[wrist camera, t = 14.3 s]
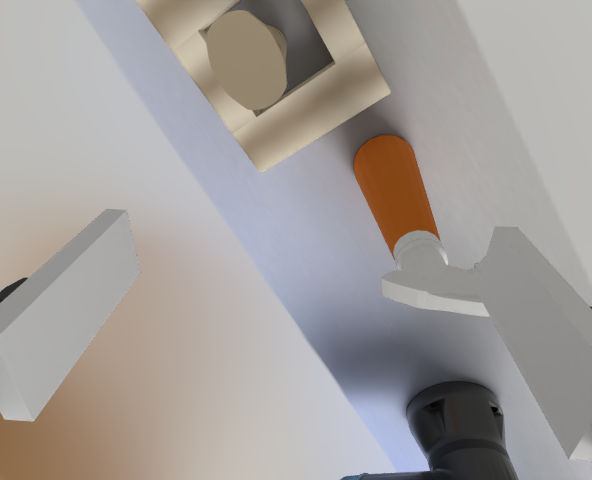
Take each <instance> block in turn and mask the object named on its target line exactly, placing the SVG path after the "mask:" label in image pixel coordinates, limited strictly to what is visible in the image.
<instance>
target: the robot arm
mask: <svg viewBox="0 0 592 480" xmlns="http://www.w3.org/2000/svg"><path fill="white" fill-rule="evenodd" d="M139 274H140V268H139V263H138V259H137V254H136V250H135V245H134V240H133V236H132V231H131V226H130V222H129V217H128V212H127V210H114V209H106V210H105V211H104V212H103V213H102V214H101V215H99V216H98V217H97V218H96V219H95V220H94V221H92V222H91V223H90V224H89V225H88V226H87V227H86V228H85V229H84V230H82V231H81V232H80V233H79V234H78V235H77V236H76V237H74V239H72V240H71V241H70V242H69V243H68V244H67V245H65V246H64V247H63V248H62V249H61V250H60V251H59V252H57V254H56V255H54V256H53V257H52V258H51V259H50V260H48V261H47V262H46V263H45V264H44V265H43V266H42V267H41V268H40V269H38V270H37V271H36V272H35V273H34V274H33V275H32V276H30V277H29V278H23V279H21V280H19V281H17V282H15V283H13V284H11V285H9V286H7V287H6V288H4V289H3V290H2V291H1V292H0V412H1V414H2V416H3V418H4V419H7V420H22V421H34V420H35V419H36V417H37V416H38V415H39V413H40V412H41V410H42V409H43V407H44V406H45V405H46V403H47V402H48V401H49V399H50V398H51V396H52V395H53V394H54V392H55V391H56V390H57V388H58V387H59V385H60V384H61V383H62V381H63V380H64V378H65V377H66V376H67V374H68V373H69V371H70V370H71V369H72V367H73V366H74V364H75V363H76V361H77V360H78V359H79V358H80V356H81V355H82V353H83V352H84V351H85V349H86V348H87V346H88V345H89V344H90V342H91V341H92V339H93V338H94V336H95V335H96V334H97V332H98V331H99V330H100V328H101V327H102V326H103V324H104V323H105V321H106V320H107V318H108V317H109V316H110V314H111V313H112V312H113V310H114V309H115V307H116V306H117V305H118V303H119V302H120V300H121V299H122V298H123V296H124V295H125V293H126V292H127V291H128V289H129V288H130V287H131V285H132V284H133V282H134V281H135V280H136V278H137V277H138V275H139ZM476 292H477V294H478V295H479V297H480V299H481V301H482V303H483V304H484V306H485V308H486V310H487V312H488V314H489V315H490V317H491V319H492V321H493V323H494V324H495V326H496V328H497V330H498V332H499V334H500V335H501V337H502V339H503V341H504V343H505V344H506V346H507V348H508V350H509V352H510V354H511V355H512V357H513V359H514V361H515V363H516V364H517V366H518V368H519V370H520V372H521V374H522V375H523V377H524V379H525V381H526V383H527V384H528V386H529V388H530V390H531V392H532V394H533V395H534V397H535V399H536V401H537V403H538V405H539V406H540V408H541V410H542V412H543V414H544V415H545V417H546V419H547V421H548V423H549V425H550V426H551V428H552V430H553V432H554V434H555V435H556V437H557V439H558V441H559V443H560V445H561V446H562V448H563V450H564V452H565V454H566V455H567V457H568V459H570V460H584V461H592V307H589V306H588V304H587V303H586V302H585V301H584V300H583V299H582V298H581V297H580V296H579V295H578V293H577V292H576V291H575V290H574V289H573V288H572V287H571V286H570V285H569V284H568V282H567V281H566V280H565V279H564V278H563V277H562V276H561V275H560V274H559V273H558V271H557V270H556V269H555V268H554V267H553V266H552V265H551V264H550V263H549V262H548V261H547V259H546V258H545V257H544V256H543V255H542V254H541V253H540V252H539V251H538V250H537V248H536V247H535V246H534V245H533V244H532V243H531V242H530V241H529V240H528V239H527V237H526V236H525V235H524V234H523V233H522V232H521V231H520V230H519V229H518V228H517V227H495V228H494V231H493V235H492V238H491V241H490V245H489V248H488V251H487V254H486V258H485V261H484V264H483V268H482V271H481V274H480V277H479V281H478V284H477V287H476ZM407 419H408V424H409V428H410V431H411V433H412V435H413V437H414V438H415V440H416V442H417V444H418V445H419V447H420V449H421V451H422V452H423V454H424V456H425V457H426V459H427V461H428V464H429V468H430V471H424V472H403V473H383V474H368V473H363V474H360V475H355V476H346V477H343V478H342V479H341V480H518V477H517V475H516V472H515V470H514V468H513V465H512V463H511V461H510V458H509V456H508V453H507V451H506V444H505V428H504V415H503V412H502V409H501V407H500V404H499V402H498V400H497V398H496V396H495V395H494V394H493V393H492V392H491V391H489V390H488V389H486V388H484V387H482V386H480V385H476V384H472V383H466V382H450V383H443V384H439V385H436V386H433V387H430V388H428V389H426V390H424V391H422V392H421V393H419V394H418V395H417V396H416V397H415V398H414V399H413V400H412V401H411V402H410V404H409V406H408V409H407Z"/></svg>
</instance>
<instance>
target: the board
mask: <svg viewBox="0 0 592 480" xmlns="http://www.w3.org/2000/svg"><path fill="white" fill-rule="evenodd" d="M240 1H241V0H136V2H137V3H138V5H139V6H140V7H141V9H142V10H143V11H144V13H145V14H146V16H147V17H148V18H149V20H150V21H151V23H152V24H153V25H154V27H155V28H156V29H157V31H158V32H159V34H160V35H161V36H162V38H163V39H164V41H165V42H166V43H167V45H168V46H169V47H170V49H171V50H172V52H173V53H174V54H175V56H176V57H177V59H178V60H179V61H180V63H181V64H182V65H183V67H184V68H185V70H186V71H187V72H188V74H189V75H190V77H191V78H192V79H193V81H194V82H195V83H196V85H197V86H198V88H199V89H200V90H201V92H202V93H203V95H204V96H205V97H206V99H207V100H208V101H209V103H210V104H211V106H212V107H213V108H214V110H215V111H216V113H217V114H218V115H219V117H220V118H221V119H222V121H223V122H224V124H225V125H226V126H227V128H228V129H229V131H230V132H231V133H232V135H233V136H234V137H235V139H236V140H237V142H238V143H239V144H240V146H241V147H242V149H243V150H244V151H245V153H246V154H247V155H248V157H249V158H250V160H251V161H252V162H253V164H254V165H255V167H256V168H257V169H258V171H259V172H260V173H263V172H264V171H266V170H267V169H269V168H271V167H272V166H274V165H275V164H277V163H279V162H280V161H282V160H284V159H285V158H287V157H288V156H290V155H292V154H293V153H295V152H297V151H298V150H300V149H301V148H303V147H305V146H306V145H308V144H309V143H311V142H313V141H314V140H316V139H318V138H319V137H321V136H322V135H324V134H326V133H327V132H329V131H330V130H332V129H334V128H335V127H337V126H339V125H340V124H342V123H343V122H345V121H347V120H348V119H350V118H352V117H353V116H355V115H356V114H358V113H360V112H361V111H363V110H364V109H366V108H368V107H369V106H371V105H373V104H374V103H376V102H377V101H379V100H381V99H382V98H384V97H386V96H387V95H389V94H390V93H391V91H390V89H389V87H388V85H387V83H386V82H385V80H384V78H383V76H382V74H381V72H380V70H379V68H378V66H377V64H376V62H375V60H374V58H373V56H372V54H371V52H370V50H369V48H368V46H367V44H366V42H365V40H364V38H363V36H362V34H361V32H360V30H359V28H358V26H357V24H356V22H355V20H354V18H353V16H352V14H351V12H350V10H349V8H348V6H347V4H346V3H345V1H344V0H301V1H302V3H303V5H304V7H305V8H306V10H307V12H308V14H309V16H310V18H311V19H312V21H313V23H314V25H315V27H316V28H317V30H318V32H319V34H320V36H321V37H322V39H323V41H324V43H325V45H326V47H327V48H328V50H329V52H330V54H331V56H332V57H333V59H334V61H333V62H331V63H330V64H329V65H327V66H326V67H324V68H323V69H321V70H320V71H318V72H317V73H315V74H314V75H312V76H311V77H309V78H308V79H307V80H305V81H304V82H302V83H301V84H299V85H298V86H296V87H295V88H293V89H292V90H290V91H289V92H287V93H286V94H285V95H283V96H282V97H280V98H279V99H278V100H277V101H276V102H275V103H273V104H272V105H270V106H268V107H266V108H264V109H263V110H261V111H260V110H247V109H246V108H245V107H243V106H242V105H240V104H239V103H238V102H236V101H235V100H234V99H232V98H231V97H230V96H229V95H228V94H227V93H226V92H225V90H224V89H223V88H222V86H221V84H220V83H219V81H218V79H217V78H216V76H215V74H214V72H213V70H212V68H211V66H210V62H209V57H208V51H207V44H206V35H207V30H206V29H207V28H208V27H209V26H210V25H211V24H213V23H214V21H215V20H217V19H218V18H219V17H220V16H222V15H224V14H225V13H226V12H228V11H229V10H230V9H231V8H232V7H234V6H235V5H236V4H237V3H239V2H240Z"/></svg>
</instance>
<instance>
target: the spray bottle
mask: <svg viewBox="0 0 592 480" xmlns="http://www.w3.org/2000/svg"><path fill="white" fill-rule="evenodd" d="M353 169H354V173H355V176H356V179H357V181H358V184H359V186H360V188H361V190H362V192H363V194H364V196H365V198H366V201H367V203H368V205H369V207H370V209H371V211H372V213H373V215H374V218H375V220H376V222H377V224H378V226H379V228H380V230H381V232H382V235H383V237H384V239H385V241H386V243H387V245H388V247H389V249H390V252H391V254H392V256H393V258H394V260H395V261H396V265H397V269H398V270H396V271H394V272H391V273H388V274H386V275H384V276H383V277H382V278H381V287H382V296H385V297H387V298H389V299H392V300H394V301H397V302H400V303H404V304H407V305H410V306H413V307H416V308H421V309H429V310H441V311H449V312H455V313H462V314H469V315H475V316H484V317H490V315H489V314H488V312H487V310H486V308H485V306H484V304H483V303H482V301H481V299H480V297H479V295H478V294H477V292H476V287H477V284H478V281H479V277H480V274H481V271H482V268H483V264H484V261H485V258H486V256H485V257H484V258H483V259H482V260H481V262H480V263H475V264H474V269H471V270H468V271H465V270H463V269H460V268H457V267H447V265H448V258H447V254H446V252H445V250H444V248H443V246H442V244H441V241H440V238H439V234H438V231H437V228H436V224H435V221H434V218H433V214H432V211H431V208H430V204H429V201H428V198H427V194H426V191H425V188H424V184H423V181H422V178H421V174H420V171H419V168H418V164H417V161H416V158H415V154H414V151H413V149H412V148H411V147H410V145H409V144H408V143H407V141H405V140H403V139H401V138H399V137H397V136H394V135H381V136H378V137H375V138H372V139H370V140H369V141H367V142H366V143H365V144H364V145H363V146H361V147H360V149H359V151H358V153H357V154H356V156H355V160H354V168H353Z"/></svg>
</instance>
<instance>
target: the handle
mask: <svg viewBox="0 0 592 480" xmlns="http://www.w3.org/2000/svg"><path fill="white" fill-rule="evenodd" d="M206 44H207V51H208V57H209V62H210V66H211V68H212V70H213V72H214V74H215V76H216V78H217V79H218V81H219V83H220V84H221V86H222V88H223V89H224V90H225V92H226V93H227V94H228V95H229V96H230V97H231V98H232V99H234V100H235V101H236V102H238V103H239V104H240V105H242V106H243V107H245V108H246V109H247V110H260V109H264V108H266V107H268V106H270V105H272V104H273V103H275V102H276V101H277V100H278V99H279V98H280V97H281V96H282V94H283V93H284V91H285V89H286V87H287V72H286V62H285V59H286V55H287V43H286V38H285V36H284V34H282V33H281V31H279V30H278V29H277V28H276V27H273V26H270V25H266V24H264V23H263V22H262V21H261V20H260V19H258V18H257V17H256V16H255V15H253V14H252V13H251V12H249V11H247V10H234V11H231V12H227V13H226V14H224V15H222V16H220V17H219V18H218V19H217V20H215V21H214V23H213V24H212V25H211V26H210V28H209V30H208V32H207V35H206Z"/></svg>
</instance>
